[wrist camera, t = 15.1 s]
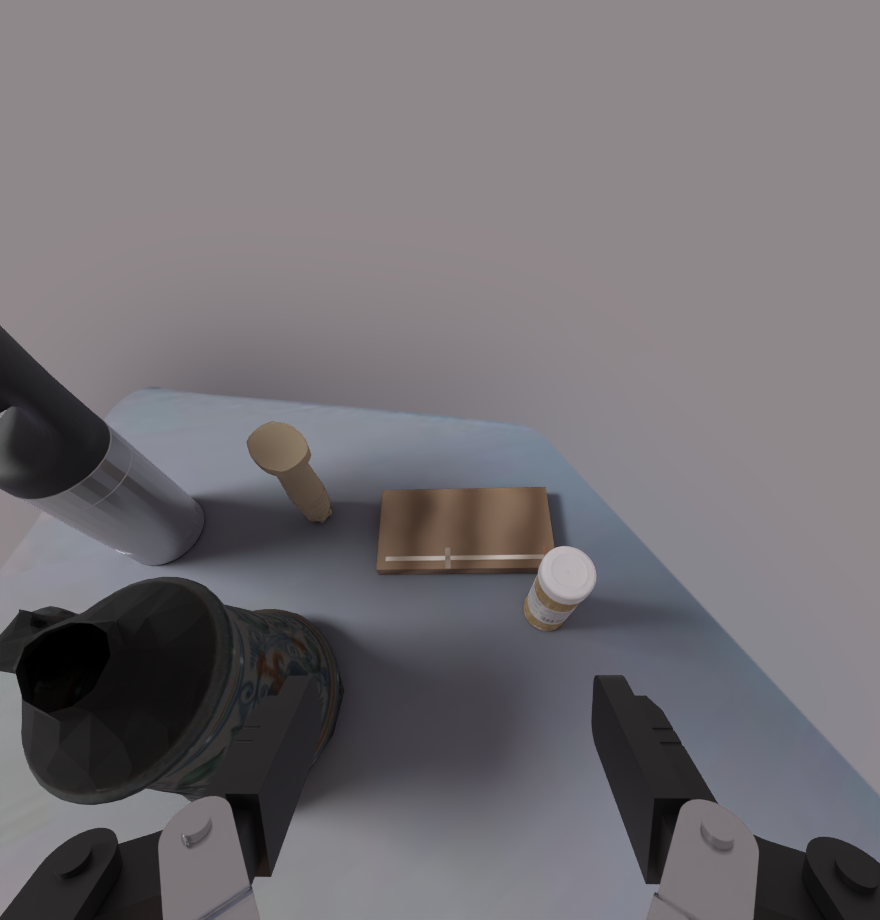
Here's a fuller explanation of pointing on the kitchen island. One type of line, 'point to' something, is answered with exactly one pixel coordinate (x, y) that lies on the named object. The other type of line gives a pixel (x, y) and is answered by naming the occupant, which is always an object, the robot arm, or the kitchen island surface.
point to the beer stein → (153, 686)
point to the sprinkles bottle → (559, 587)
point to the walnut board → (463, 531)
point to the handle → (290, 467)
